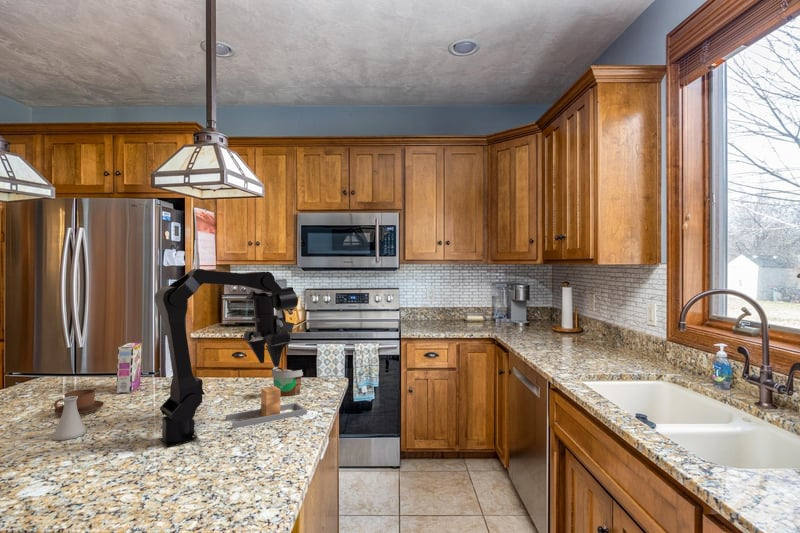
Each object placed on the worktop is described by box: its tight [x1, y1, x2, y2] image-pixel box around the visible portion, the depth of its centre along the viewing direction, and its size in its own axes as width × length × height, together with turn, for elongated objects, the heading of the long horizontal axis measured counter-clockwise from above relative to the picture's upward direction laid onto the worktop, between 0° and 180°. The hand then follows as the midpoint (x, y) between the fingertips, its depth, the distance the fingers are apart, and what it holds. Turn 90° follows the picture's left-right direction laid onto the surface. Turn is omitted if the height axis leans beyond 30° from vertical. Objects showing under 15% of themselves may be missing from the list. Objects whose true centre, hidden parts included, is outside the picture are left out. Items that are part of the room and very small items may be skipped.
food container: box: [270, 366, 304, 397], centre depth 144 cm, size 12×6×10 cm, turn 62°
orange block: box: [260, 385, 281, 417], centre depth 121 cm, size 4×5×8 cm
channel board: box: [225, 402, 308, 430], centre depth 121 cm, size 21×9×3 cm, turn 125°
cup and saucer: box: [53, 388, 105, 416], centre depth 128 cm, size 12×12×6 cm
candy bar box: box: [115, 342, 143, 395], centre depth 152 cm, size 11×5×16 cm, turn 17°
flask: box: [51, 396, 87, 441], centre depth 109 cm, size 7×7×10 cm
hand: (269, 364), depth 125 cm, fingers open, 9 cm apart
